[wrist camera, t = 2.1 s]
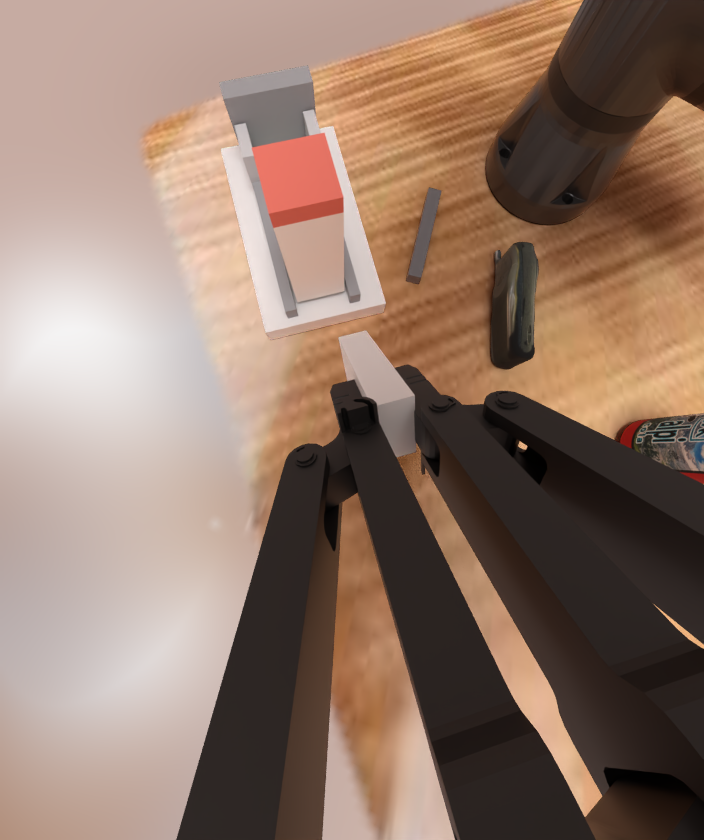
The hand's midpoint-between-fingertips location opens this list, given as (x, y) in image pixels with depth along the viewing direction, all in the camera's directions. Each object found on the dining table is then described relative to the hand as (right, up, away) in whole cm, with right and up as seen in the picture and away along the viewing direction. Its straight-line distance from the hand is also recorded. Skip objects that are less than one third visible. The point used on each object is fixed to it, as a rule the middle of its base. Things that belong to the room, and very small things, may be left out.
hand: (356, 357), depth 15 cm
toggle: (-4, +13, +16) cm, 21 cm away
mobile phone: (+18, +10, +19) cm, 28 cm away
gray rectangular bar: (+9, +19, +19) cm, 29 cm away
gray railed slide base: (-6, +19, +19) cm, 28 cm away
